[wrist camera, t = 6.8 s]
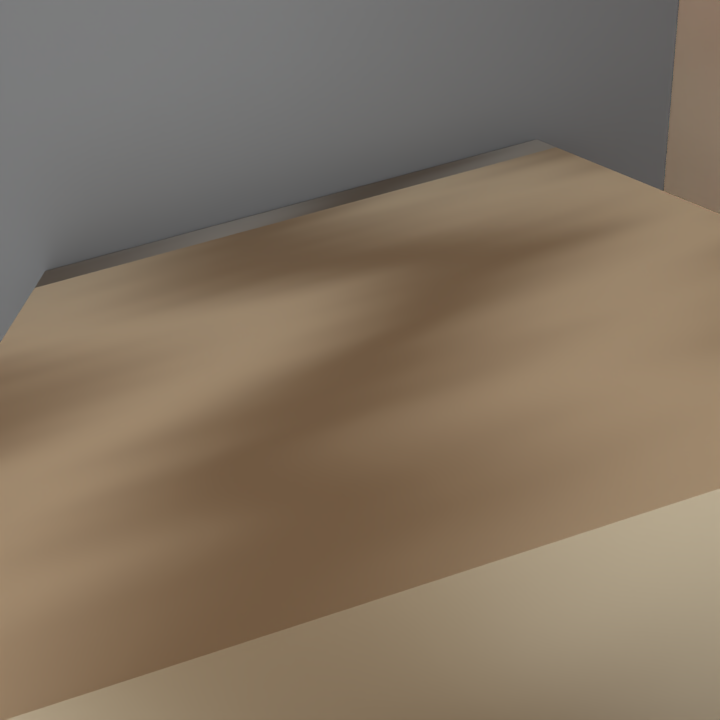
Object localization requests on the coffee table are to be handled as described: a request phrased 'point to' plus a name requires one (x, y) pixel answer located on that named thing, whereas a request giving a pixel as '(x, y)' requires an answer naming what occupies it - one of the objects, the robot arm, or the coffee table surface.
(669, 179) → the coffee table surface
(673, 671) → the block
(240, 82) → the board
